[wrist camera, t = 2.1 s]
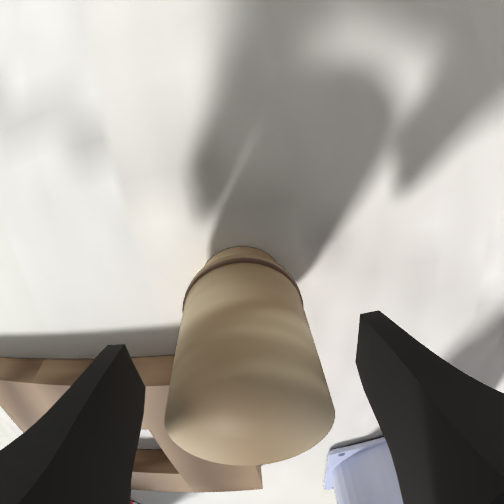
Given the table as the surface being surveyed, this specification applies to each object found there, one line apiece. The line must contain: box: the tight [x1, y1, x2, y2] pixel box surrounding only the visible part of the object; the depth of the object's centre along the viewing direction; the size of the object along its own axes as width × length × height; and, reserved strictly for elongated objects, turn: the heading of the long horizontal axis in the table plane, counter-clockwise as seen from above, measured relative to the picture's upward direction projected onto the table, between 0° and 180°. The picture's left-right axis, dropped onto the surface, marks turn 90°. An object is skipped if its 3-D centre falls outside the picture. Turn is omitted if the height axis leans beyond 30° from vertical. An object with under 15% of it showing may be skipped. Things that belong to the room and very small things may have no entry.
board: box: [0, 355, 263, 492], centre depth 17 cm, size 16×13×2 cm
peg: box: [164, 246, 335, 466], centre depth 10 cm, size 4×4×7 cm
